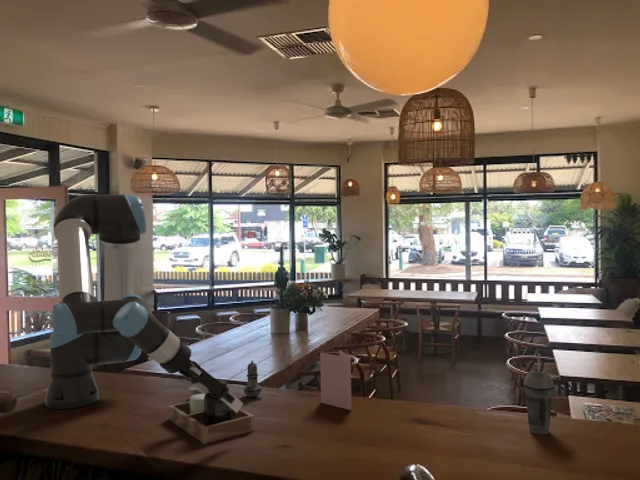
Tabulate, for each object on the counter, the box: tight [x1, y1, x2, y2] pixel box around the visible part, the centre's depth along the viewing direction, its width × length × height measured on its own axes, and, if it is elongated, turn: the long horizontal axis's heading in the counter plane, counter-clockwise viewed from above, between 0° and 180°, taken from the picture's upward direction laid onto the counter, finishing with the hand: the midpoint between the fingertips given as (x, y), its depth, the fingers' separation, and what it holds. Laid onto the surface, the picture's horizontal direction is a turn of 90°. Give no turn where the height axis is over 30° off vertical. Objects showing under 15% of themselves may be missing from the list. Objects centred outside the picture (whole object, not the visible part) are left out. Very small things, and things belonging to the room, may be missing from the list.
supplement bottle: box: [204, 379, 231, 426], centre depth 140 cm, size 7×7×12 cm
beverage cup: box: [523, 352, 555, 436], centre depth 138 cm, size 7×7×20 cm
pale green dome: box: [189, 394, 205, 414], centre depth 148 cm, size 6×6×6 cm
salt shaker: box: [242, 360, 263, 402], centre depth 168 cm, size 6×6×12 cm
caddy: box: [168, 400, 256, 445], centre depth 144 cm, size 22×14×4 cm, turn 37°
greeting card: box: [319, 349, 353, 411], centre depth 161 cm, size 11×7×15 cm, turn 14°
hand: (226, 401), depth 141 cm, fingers open, 13 cm apart
